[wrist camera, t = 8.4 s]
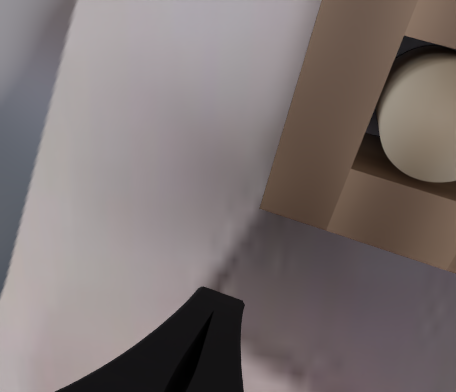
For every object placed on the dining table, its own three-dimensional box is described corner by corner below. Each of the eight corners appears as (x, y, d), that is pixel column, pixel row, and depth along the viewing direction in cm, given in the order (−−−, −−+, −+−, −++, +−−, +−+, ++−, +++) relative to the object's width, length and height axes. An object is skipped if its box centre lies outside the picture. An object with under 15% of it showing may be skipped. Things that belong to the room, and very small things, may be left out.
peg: (498, 60, 17) (542, 83, 13) (451, 153, 19) (476, 197, 15) (396, 34, 17) (409, 47, 13) (360, 126, 19) (362, 162, 15)
